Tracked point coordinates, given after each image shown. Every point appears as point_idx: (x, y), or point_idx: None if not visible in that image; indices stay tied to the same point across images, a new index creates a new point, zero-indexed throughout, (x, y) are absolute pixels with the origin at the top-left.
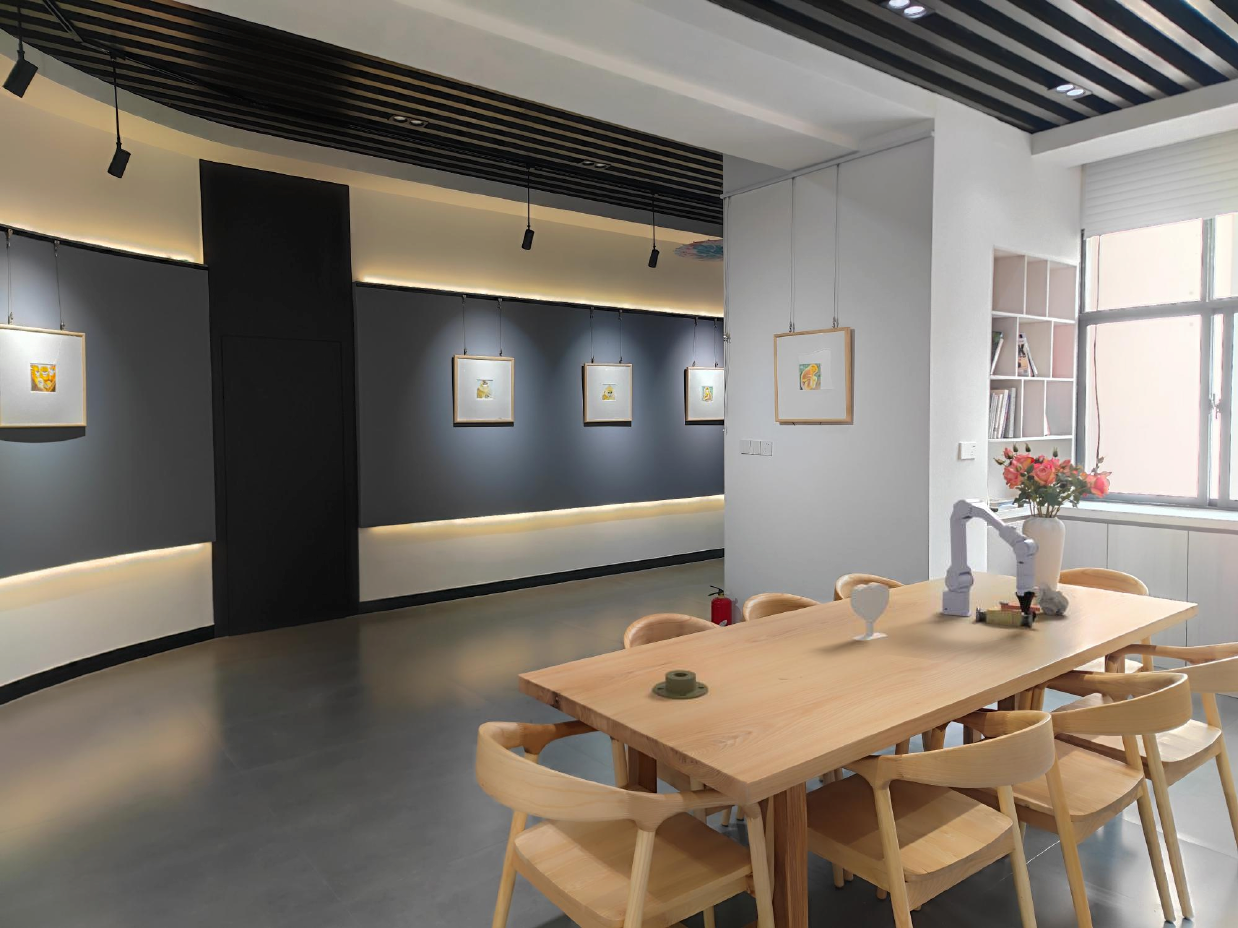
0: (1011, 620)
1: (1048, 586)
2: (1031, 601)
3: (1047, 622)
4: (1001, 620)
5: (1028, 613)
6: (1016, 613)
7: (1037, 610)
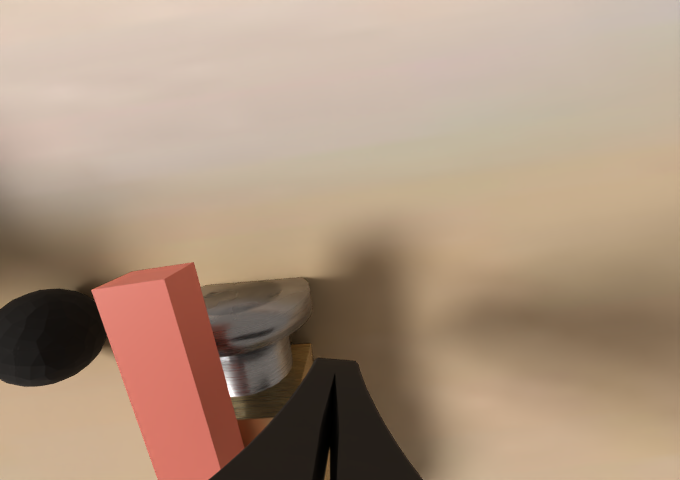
0: None
1: None
2: (277, 442)
3: (80, 203)
4: None
5: (75, 351)
6: None
7: (194, 293)
